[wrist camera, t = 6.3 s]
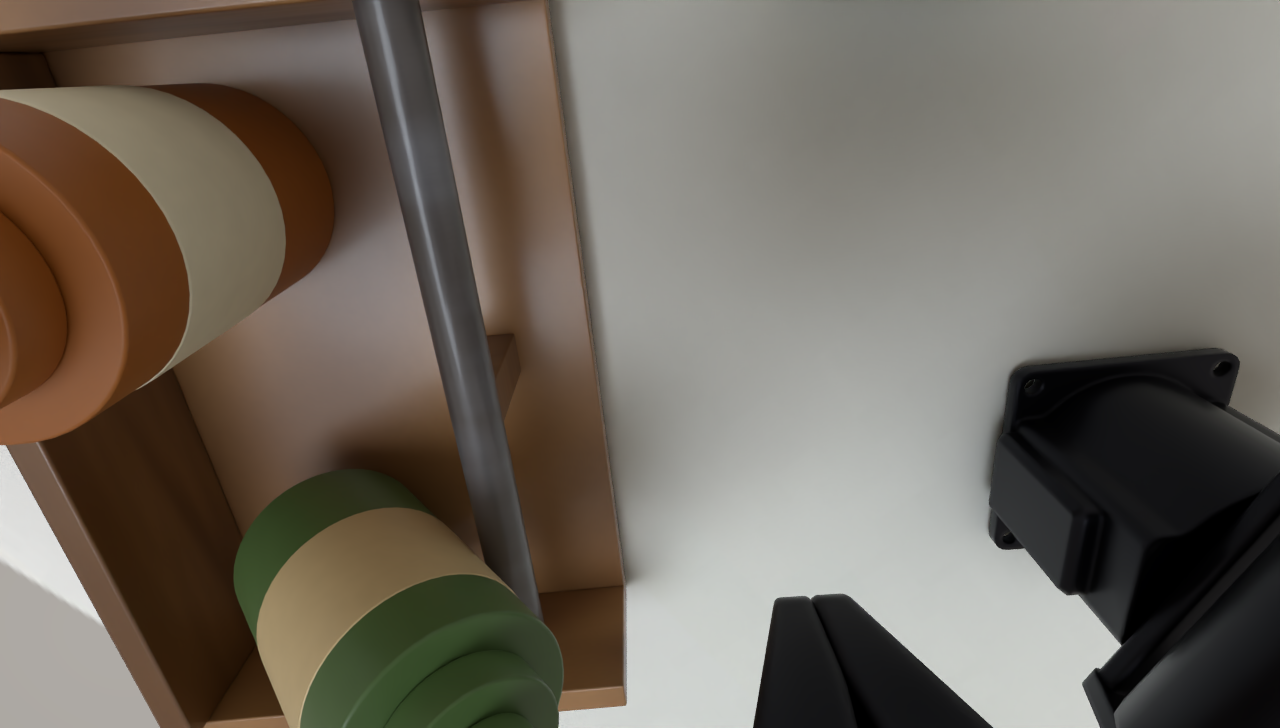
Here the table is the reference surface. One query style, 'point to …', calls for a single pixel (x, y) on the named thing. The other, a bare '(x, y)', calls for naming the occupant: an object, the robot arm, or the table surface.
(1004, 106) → the table surface
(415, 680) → the green bottle
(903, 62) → the table surface
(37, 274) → the amber bottle
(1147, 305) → the table surface
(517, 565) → the rack
